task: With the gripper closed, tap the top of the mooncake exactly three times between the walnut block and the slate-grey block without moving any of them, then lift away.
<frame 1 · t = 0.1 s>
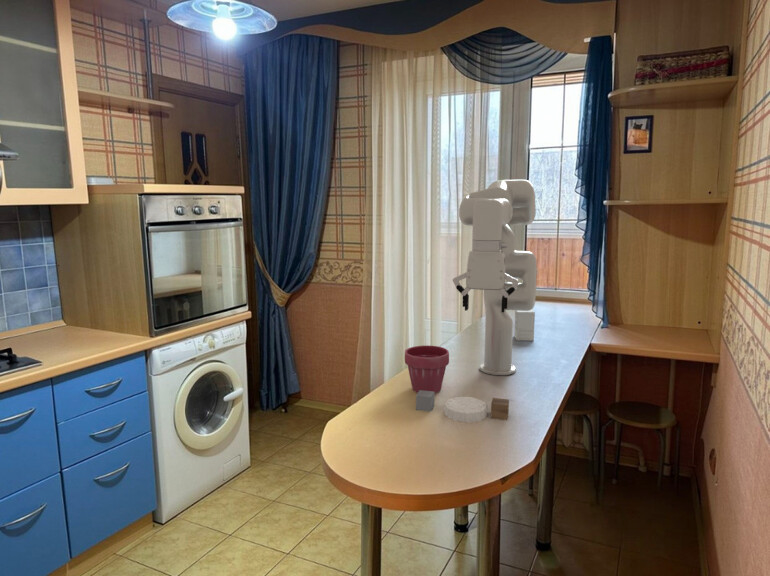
hand: (484, 310, 146), 31 cm above the table, tool pointing down, fingers open, 9 cm apart
mooncake: (465, 415, 156), on the table
slate-grey block: (425, 408, 160), on the table
plant pot: (426, 389, 175), on the table
supplement box: (523, 339, 236), on the table
walnut block: (499, 416, 154), on the table
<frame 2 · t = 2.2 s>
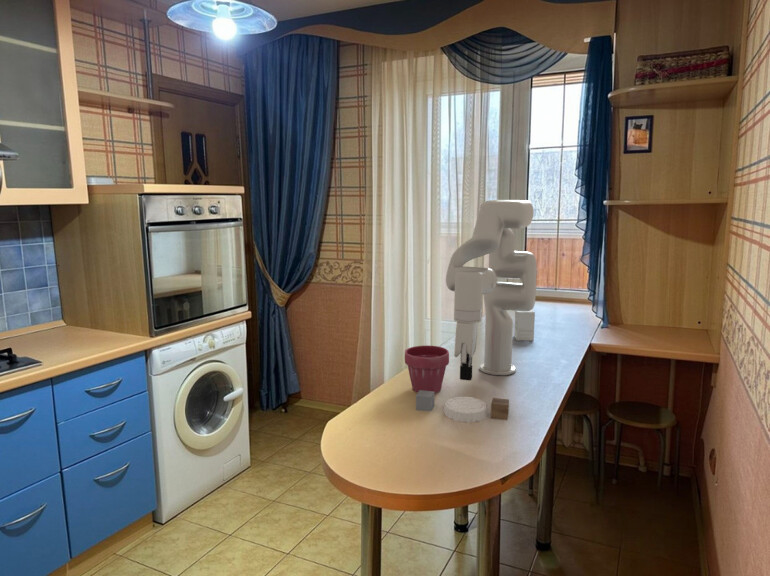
hand: (465, 379, 153), 10 cm above the table, tool pointing down, fingers closed
nothing on the table moved.
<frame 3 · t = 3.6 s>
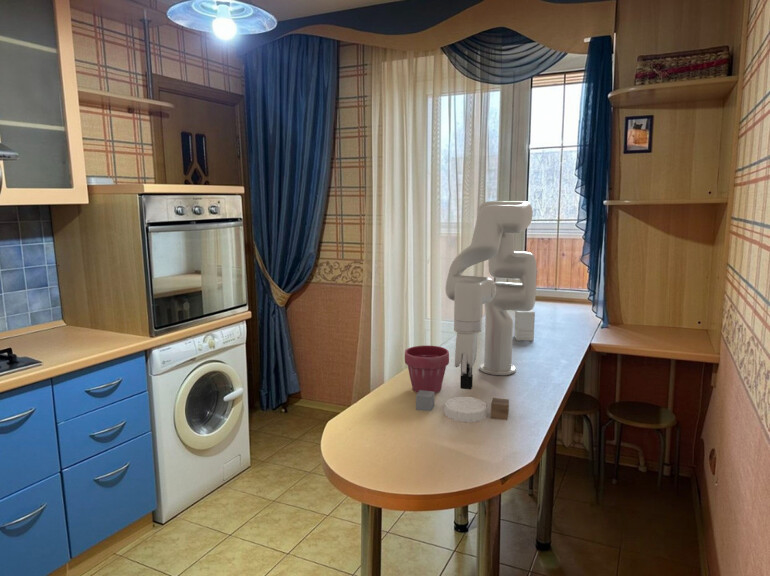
hand: (466, 388, 154), 8 cm above the table, tool pointing down, fingers closed
nothing on the table moved.
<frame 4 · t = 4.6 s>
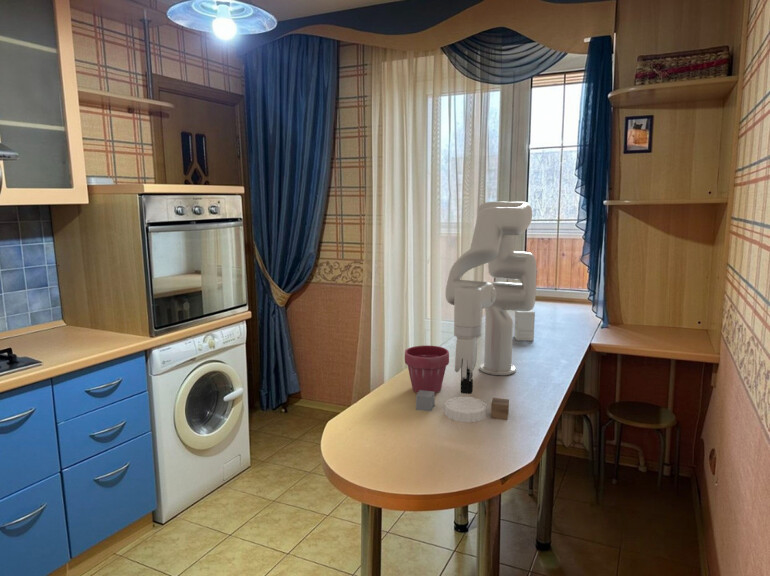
hand: (466, 392, 155), 6 cm above the table, tool pointing down, fingers closed
nothing on the table moved.
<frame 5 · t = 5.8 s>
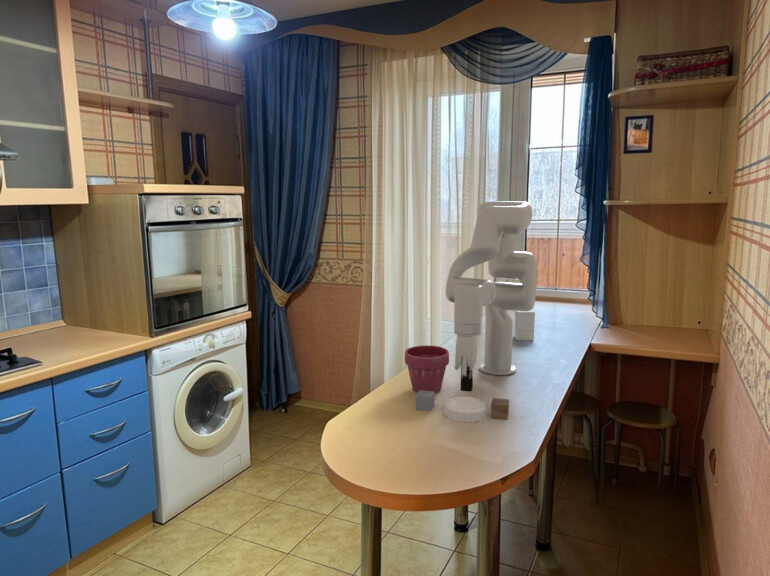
hand: (466, 390, 155), 7 cm above the table, tool pointing down, fingers closed
nothing on the table moved.
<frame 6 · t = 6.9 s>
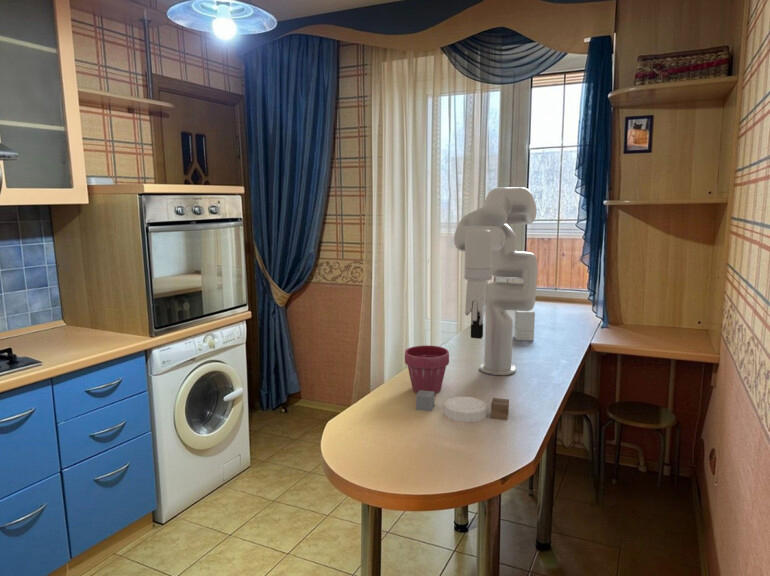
hand: (476, 337, 154), 22 cm above the table, tool pointing down, fingers closed
nothing on the table moved.
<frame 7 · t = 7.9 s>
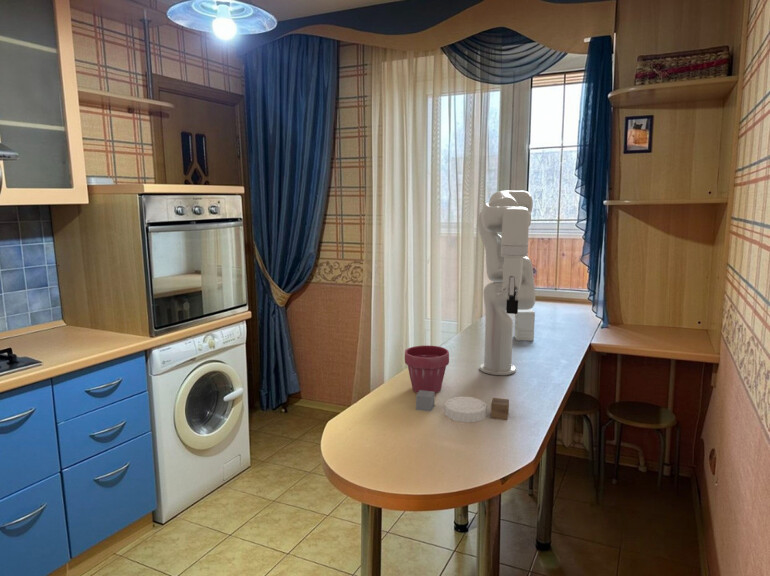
hand: (511, 312, 161), 27 cm above the table, tool pointing down, fingers closed
nothing on the table moved.
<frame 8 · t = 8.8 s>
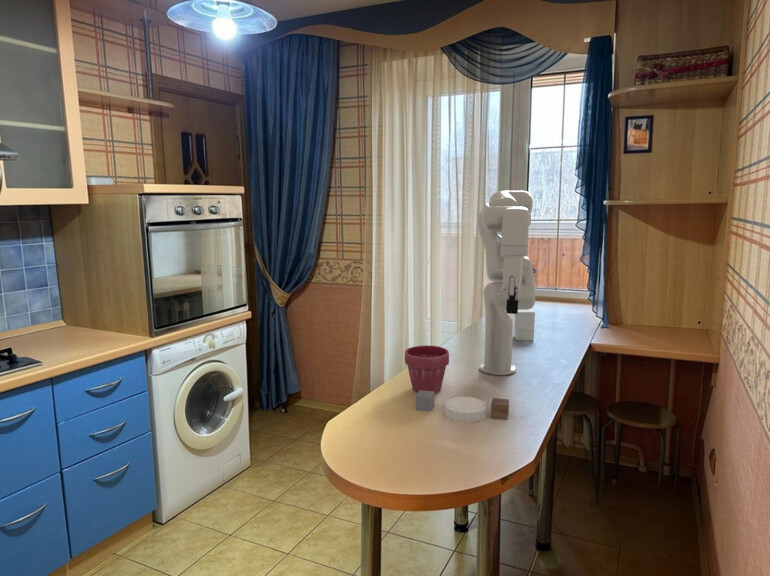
hand: (512, 312, 161), 27 cm above the table, tool pointing down, fingers closed
nothing on the table moved.
at the end: mooncake moved 0.5 cm from its start; walnut block moved 0.1 cm from its start; slate-grey block moved 0.1 cm from its start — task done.
